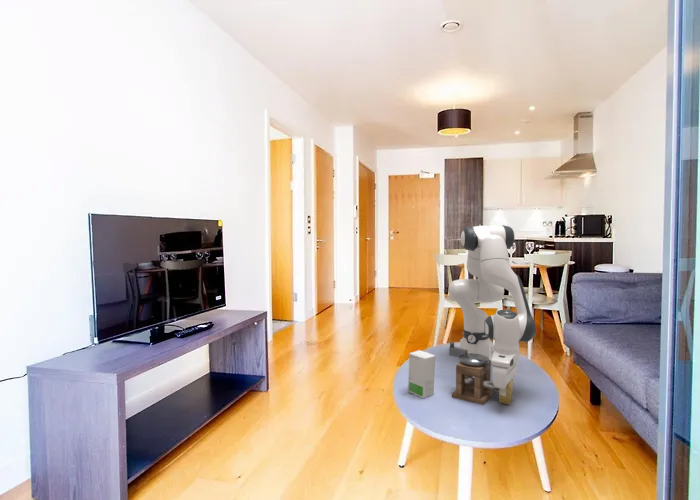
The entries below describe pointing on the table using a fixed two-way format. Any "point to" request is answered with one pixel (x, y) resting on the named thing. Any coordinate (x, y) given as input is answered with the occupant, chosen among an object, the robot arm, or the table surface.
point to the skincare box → (421, 373)
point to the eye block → (477, 391)
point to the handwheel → (468, 356)
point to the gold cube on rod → (489, 385)
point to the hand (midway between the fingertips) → (505, 392)
